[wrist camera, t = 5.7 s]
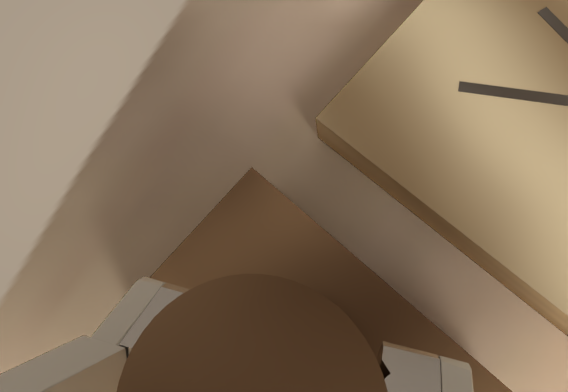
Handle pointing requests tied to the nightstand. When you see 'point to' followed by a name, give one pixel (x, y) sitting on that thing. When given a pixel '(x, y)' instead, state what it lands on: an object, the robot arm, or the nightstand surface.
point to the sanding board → (472, 135)
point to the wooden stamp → (276, 309)
